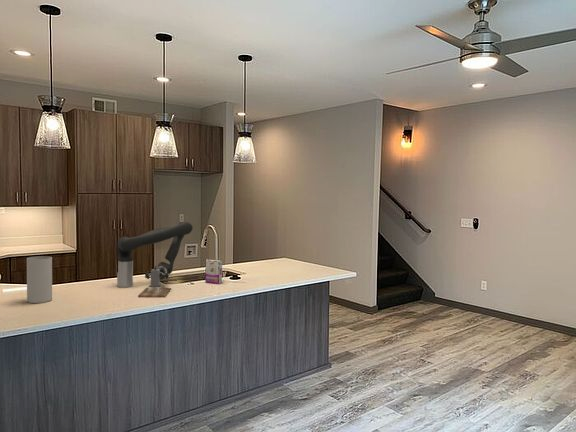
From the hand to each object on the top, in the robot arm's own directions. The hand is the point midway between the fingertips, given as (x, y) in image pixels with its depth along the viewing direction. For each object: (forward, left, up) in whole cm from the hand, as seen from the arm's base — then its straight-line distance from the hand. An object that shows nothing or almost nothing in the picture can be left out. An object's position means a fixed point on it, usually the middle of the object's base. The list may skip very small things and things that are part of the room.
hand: (154, 277), depth 267 cm
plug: (0, +2, -9) cm, 9 cm away
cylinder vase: (-61, -17, -11) cm, 64 cm away
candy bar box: (+34, +34, -11) cm, 49 cm away
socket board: (0, +2, -10) cm, 11 cm away
